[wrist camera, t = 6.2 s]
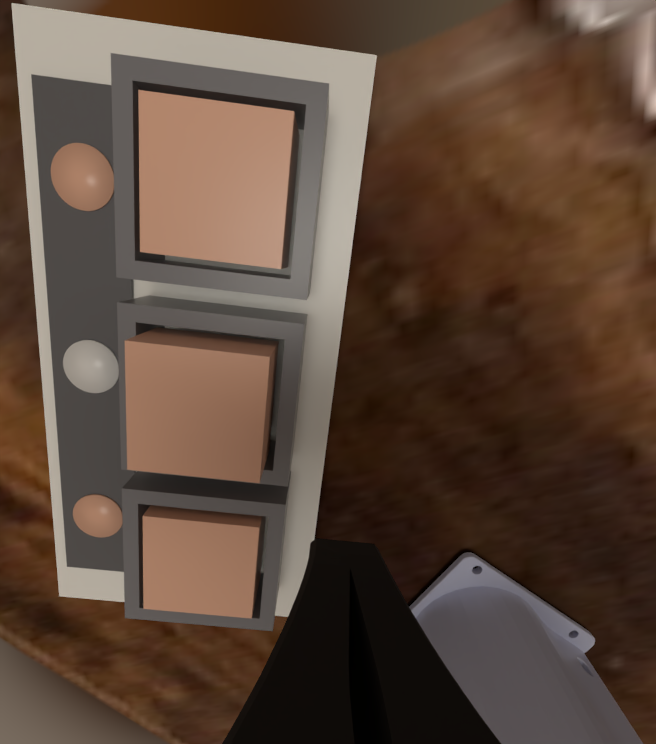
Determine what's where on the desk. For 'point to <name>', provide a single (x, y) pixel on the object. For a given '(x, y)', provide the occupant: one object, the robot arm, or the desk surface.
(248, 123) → the button near
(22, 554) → the desk surface
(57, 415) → the button board
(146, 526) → the button far
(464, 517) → the desk surface
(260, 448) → the button middle
